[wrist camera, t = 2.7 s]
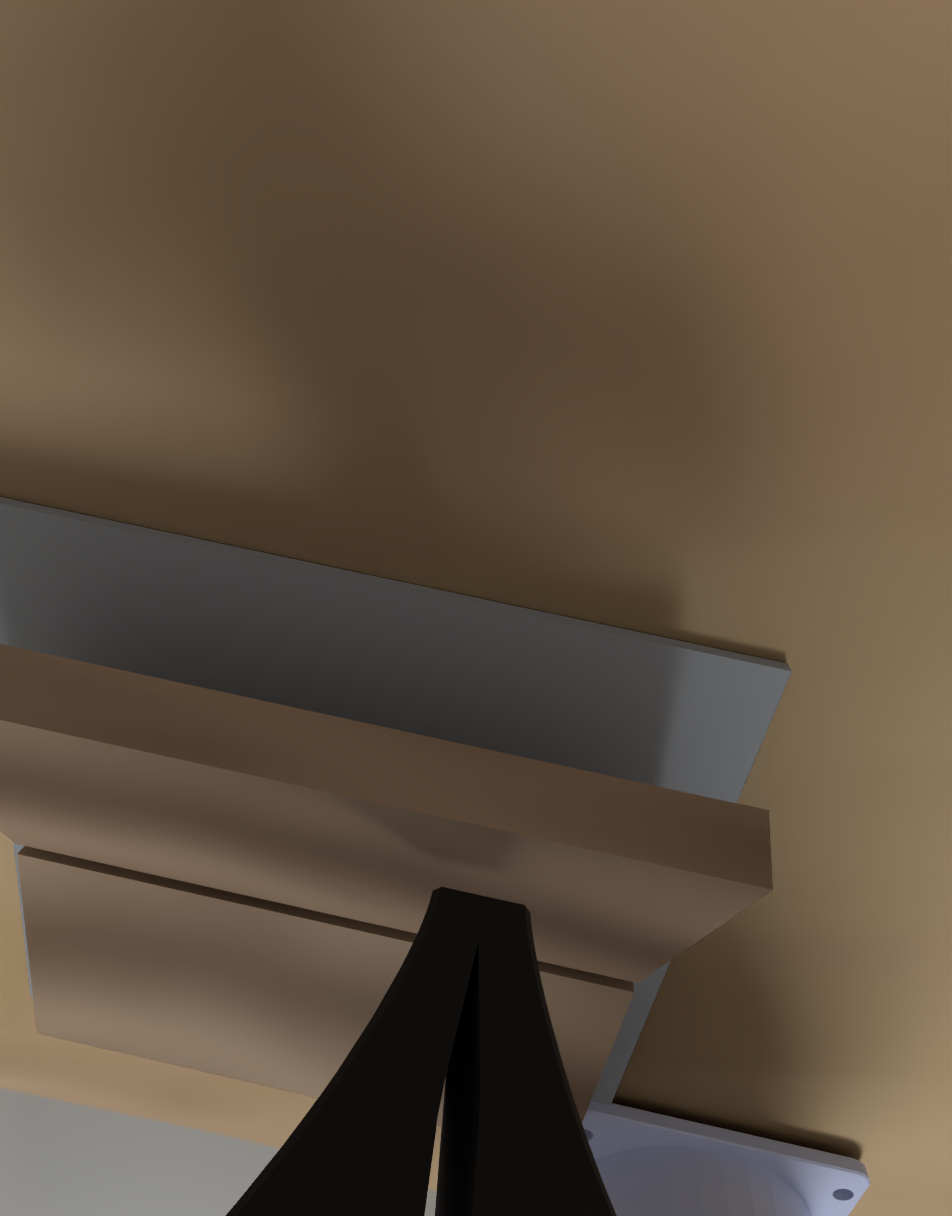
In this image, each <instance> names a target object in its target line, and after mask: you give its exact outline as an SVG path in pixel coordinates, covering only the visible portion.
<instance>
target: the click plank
mask: <svg viewBox="0 0 952 1216" xmlns="http://www.w3.org/2000/svg"><path fill="white" fill-rule="evenodd" d="M0 830H1V831H2V832H3V833H4V834H5V835H6V836H7V837H9V838H10V839H11V840H12V841H13V842H14V843H15V844H19V845H23V846H28V847H32V848H37V849H41V850H45V851H50V852H54V853H59V854H63V855H68V856H72V857H77V858H81V859H86V860H90V861H95V862H99V863H104V864H108V865H112V866H117V867H121V868H126V869H130V870H135V871H139V872H144V873H148V874H153V875H157V876H162V877H166V878H171V879H175V880H179V881H184V882H188V883H193V884H197V885H202V886H206V887H211V888H215V889H220V890H224V891H229V892H233V893H238V894H242V895H246V896H251V897H255V898H260V899H264V900H269V901H273V902H278V903H282V904H287V905H291V906H296V907H300V908H304V909H309V910H313V911H318V912H322V913H327V914H331V915H336V916H340V917H345V918H349V919H354V920H358V921H363V922H367V923H371V924H376V925H380V926H385V927H389V928H394V929H398V930H403V931H407V932H412V933H416V934H417V933H418V931H419V929H420V926H421V924H422V921H423V919H424V916H425V914H426V911H427V908H428V905H429V902H430V898H431V895H432V891H433V890H435V889H437V888H440V887H446V888H450V889H455V890H459V891H464V892H468V893H473V894H478V895H482V896H487V897H491V898H496V899H500V900H505V901H509V902H514V903H518V904H523V905H525V906H526V907H527V909H528V910H529V911H530V913H531V924H532V932H533V939H534V945H535V951H536V957H537V961H541V962H546V963H550V964H555V965H559V966H563V967H568V968H572V969H577V970H581V971H586V972H590V973H595V974H599V975H604V976H608V977H613V978H617V979H622V980H626V981H630V982H635V983H639V982H640V981H642V980H643V979H644V978H646V977H647V976H649V975H650V974H652V973H653V972H655V971H656V970H657V969H659V968H660V967H662V966H663V965H665V964H666V963H668V962H669V961H670V960H672V959H673V958H675V957H676V956H678V955H679V954H681V953H682V952H683V951H685V950H686V949H688V948H689V947H691V946H692V945H694V944H695V943H696V942H698V941H699V940H701V939H702V938H704V937H705V936H707V935H708V934H709V933H711V932H712V931H714V930H715V929H717V928H718V927H720V926H721V925H722V924H724V923H725V922H727V921H728V920H730V919H731V918H733V917H734V916H735V915H737V914H738V913H740V912H741V911H743V910H744V909H746V908H747V907H748V906H750V905H751V904H753V903H754V902H756V901H757V900H759V899H760V898H761V897H763V896H764V895H766V894H767V893H769V892H770V891H772V890H773V885H772V865H771V846H770V827H769V810H765V809H760V808H755V807H751V806H746V805H742V804H737V803H732V802H728V801H723V800H719V799H714V798H709V797H705V796H700V795H696V794H691V793H686V792H682V791H677V790H672V789H668V788H663V787H659V786H654V785H649V784H645V783H640V782H636V781H631V780H626V779H622V778H617V777H613V776H608V775H603V774H599V773H594V772H589V771H585V770H580V769H576V768H571V767H566V766H562V765H557V764H553V763H548V762H543V761H539V760H534V759H530V758H525V757H520V756H516V755H511V754H507V753H502V752H497V751H493V750H488V749H483V748H479V747H474V746H470V745H465V744H460V743H456V742H451V741H447V740H442V739H437V738H433V737H428V736H424V735H419V734H414V733H410V732H405V731H400V730H396V729H391V728H387V727H382V726H377V725H373V724H368V723H364V722H359V721H354V720H350V719H345V718H341V717H336V716H331V715H327V714H322V713H318V712H313V711H308V710H304V709H299V708H294V707H290V706H285V705H281V704H276V703H271V702H267V701H262V700H258V699H253V698H248V697H244V696H239V695H235V694H230V693H225V692H221V691H216V690H211V689H207V688H202V687H198V686H193V685H188V684H184V683H179V682H175V681H170V680H165V679H161V678H156V677H152V676H147V675H142V674H138V673H133V672H129V671H124V670H119V669H115V668H110V667H105V666H101V665H96V664H92V663H87V662H82V661H78V660H73V659H69V658H64V657H59V656H55V655H50V654H46V653H41V652H36V651H32V650H27V649H23V648H18V647H13V646H9V645H4V644H0Z"/></svg>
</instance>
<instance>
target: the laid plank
mask: <svg viewBox="0 0 952 1216" xmlns="http://www.w3.org/2000/svg"><path fill="white" fill-rule="evenodd" d="M17 859H18V868H19V877H20V886H21V895H22V904H23V913H24V921H25V930H26V939H27V948H28V957H29V966H30V975H31V984H32V993H33V1002H34V1011H35V1020H36V1029H37V1033H38V1034H42V1035H46V1036H51V1037H55V1038H59V1039H64V1040H68V1041H72V1042H77V1043H81V1044H85V1045H90V1046H94V1047H98V1048H103V1049H107V1050H112V1051H116V1052H120V1053H125V1054H129V1055H133V1056H138V1057H142V1058H146V1059H151V1060H155V1061H159V1062H164V1063H168V1064H172V1065H177V1066H181V1067H185V1068H190V1069H194V1070H198V1071H203V1072H207V1073H211V1074H216V1075H220V1076H224V1077H229V1078H233V1079H237V1080H242V1081H246V1082H250V1083H255V1084H259V1085H263V1086H268V1087H272V1088H276V1089H281V1090H285V1091H289V1092H294V1093H298V1094H302V1095H307V1096H311V1097H315V1098H319V1096H320V1095H321V1094H322V1092H323V1091H324V1089H325V1088H326V1086H327V1085H328V1084H329V1082H330V1081H331V1079H332V1078H333V1076H334V1075H335V1074H336V1072H337V1071H338V1069H339V1068H340V1066H341V1064H342V1063H343V1061H344V1060H345V1058H346V1057H347V1055H348V1054H349V1052H350V1051H351V1049H352V1048H353V1046H354V1045H355V1043H356V1042H357V1040H358V1038H359V1037H360V1035H361V1034H362V1032H363V1031H364V1029H365V1028H366V1026H367V1025H368V1023H369V1021H370V1020H371V1018H372V1017H373V1015H374V1013H375V1012H376V1010H377V1008H378V1006H379V1005H380V1003H381V1001H382V999H383V998H384V996H385V994H386V992H387V991H388V989H389V987H390V985H391V984H392V982H393V980H394V978H395V977H396V975H397V973H398V971H399V969H400V968H401V966H402V964H403V962H404V960H405V958H406V956H407V954H408V952H409V950H410V948H411V946H412V944H413V942H414V940H415V937H416V935H417V934H416V933H412V932H407V931H403V930H398V929H394V928H389V927H385V926H380V925H376V924H371V923H367V922H363V921H358V920H354V919H349V918H345V917H340V916H336V915H331V914H327V913H322V912H318V911H313V910H309V909H304V908H300V907H296V906H291V905H287V904H282V903H278V902H273V901H269V900H264V899H260V898H255V897H251V896H246V895H242V894H238V893H233V892H229V891H224V890H220V889H215V888H211V887H206V886H202V885H197V884H193V883H188V882H184V881H179V880H175V879H171V878H166V877H162V876H157V875H153V874H148V873H144V872H139V871H135V870H130V869H126V868H121V867H117V866H112V865H108V864H104V863H99V862H95V861H90V860H86V859H81V858H77V857H72V856H68V855H63V854H59V853H54V852H50V851H45V850H41V849H37V848H32V847H28V846H24V847H23V848H22V849H21V850H20V851H19V852H18V853H17ZM537 962H538V967H539V972H540V977H541V981H542V986H543V990H544V995H545V999H546V1003H547V1007H548V1011H549V1015H550V1019H551V1023H552V1026H553V1030H554V1034H555V1037H556V1041H557V1044H558V1048H559V1051H560V1055H561V1059H562V1062H563V1066H564V1069H565V1072H566V1076H567V1079H568V1082H569V1085H570V1088H571V1092H572V1095H573V1098H574V1101H575V1104H576V1107H577V1110H578V1113H579V1116H580V1119H581V1122H583V1120H584V1117H585V1115H586V1112H587V1110H588V1107H589V1104H590V1102H591V1099H592V1097H593V1094H594V1092H595V1089H596V1087H597V1084H598V1082H599V1079H600V1077H601V1074H602V1072H603V1069H604V1067H605V1064H606V1062H607V1059H608V1057H609V1054H610V1052H611V1049H612V1047H613V1044H614V1042H615V1039H616V1037H617V1034H618V1032H619V1029H620V1027H621V1024H622V1022H623V1019H624V1017H625V1014H626V1011H627V1009H628V1006H629V1004H630V1001H631V999H632V996H633V994H634V986H633V982H630V981H626V980H622V979H617V978H613V977H608V976H604V975H599V974H595V973H590V972H586V971H581V970H577V969H572V968H568V967H563V966H559V965H555V964H550V963H546V962H541V961H537ZM445 1079H446V1078H445ZM444 1092H445V1082H444V1087H443V1092H442V1097H441V1103H440V1108H439V1113H438V1118H437V1126H441V1127H442V1117H443V1104H444Z"/></svg>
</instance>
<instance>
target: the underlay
mask: <svg viewBox="0 0 952 1216" xmlns="http://www.w3.org/2000/svg"><path fill="white" fill-rule="evenodd" d="M0 644H4V645H9V646H13V647H18V648H23V649H27V650H32V651H36V652H41V653H46V654H50V655H55V656H59V657H64V658H69V659H73V660H78V661H82V662H87V663H92V664H96V665H101V666H105V667H110V668H115V669H119V670H124V671H129V672H133V673H138V674H142V675H147V676H152V677H156V678H161V679H165V680H170V681H175V682H179V683H184V684H188V685H193V686H198V687H202V688H207V689H211V690H216V691H221V692H225V693H230V694H235V695H239V696H244V697H248V698H253V699H258V700H262V701H267V702H271V703H276V704H281V705H285V706H290V707H294V708H299V709H304V710H308V711H313V712H318V713H322V714H327V715H331V716H336V717H341V718H345V719H350V720H354V721H359V722H364V723H368V724H373V725H377V726H382V727H387V728H391V729H396V730H400V731H405V732H410V733H414V734H419V735H424V736H428V737H433V738H437V739H442V740H447V741H451V742H456V743H460V744H465V745H470V746H474V747H479V748H483V749H488V750H493V751H497V752H502V753H507V754H511V755H516V756H520V757H525V758H530V759H534V760H539V761H543V762H548V763H553V764H557V765H562V766H566V767H571V768H576V769H580V770H585V771H589V772H594V773H599V774H603V775H608V776H613V777H617V778H622V779H626V780H631V781H636V782H640V783H645V784H649V785H654V786H659V787H663V788H668V789H672V790H677V791H682V792H686V793H691V794H696V795H700V796H705V797H709V798H714V799H719V800H723V801H728V802H732V803H737V801H738V799H739V796H740V794H741V792H742V789H743V787H744V784H745V782H746V780H747V777H748V775H749V772H750V770H751V768H752V765H753V763H754V761H755V758H756V756H757V753H758V751H759V749H760V746H761V744H762V741H763V739H764V737H765V734H766V732H767V729H768V727H769V725H770V722H771V720H772V717H773V715H774V713H775V710H776V708H777V705H778V703H779V701H780V698H781V696H782V694H783V691H784V689H785V686H786V684H787V682H788V679H789V677H790V674H791V672H792V671H791V669H790V667H789V665H788V664H787V663H783V662H778V661H773V660H768V659H764V658H759V657H754V656H749V655H745V654H740V653H735V652H731V651H726V650H721V649H716V648H712V647H707V646H702V645H698V644H693V643H688V642H683V641H679V640H674V639H669V638H664V637H660V636H655V635H650V634H646V633H641V632H636V631H631V630H627V629H622V628H617V627H612V626H608V625H603V624H598V623H594V622H589V621H584V620H579V619H575V618H570V617H565V616H561V615H556V614H551V613H546V612H542V611H537V610H532V609H527V608H523V607H518V606H513V605H509V604H504V603H499V602H494V601H490V600H485V599H480V598H476V597H471V596H466V595H461V594H457V593H452V592H447V591H442V590H438V589H433V588H428V587H424V586H419V585H414V584H409V583H405V582H400V581H395V580H390V579H386V578H381V577H376V576H372V575H367V574H362V573H357V572H353V571H348V570H343V569H339V568H334V567H329V566H324V565H320V564H315V563H310V562H305V561H301V560H296V559H291V558H287V557H282V556H277V555H272V554H268V553H263V552H258V551H254V550H249V549H244V548H239V547H235V546H230V545H225V544H220V543H216V542H211V541H206V540H202V539H197V538H192V537H187V536H183V535H178V534H173V533H168V532H164V531H159V530H154V529H150V528H145V527H140V526H135V525H131V524H126V523H121V522H117V521H112V520H107V519H102V518H98V517H93V516H88V515H83V514H79V513H74V512H69V511H65V510H60V509H55V508H50V507H46V506H41V505H36V504H32V503H27V502H22V501H17V500H13V499H8V498H3V497H0ZM23 847H24V846H23V845H19V844H15V843H14V851H15V860H16V869H17V878H18V886H19V895H20V904H21V913H22V922H23V931H24V939H25V948H26V957H27V966H28V975H29V984H30V992H31V997H33V993H32V984H31V975H30V966H29V957H28V948H27V939H26V930H25V921H24V913H23V904H22V895H21V886H20V877H19V868H18V859H17V853H18V852H19V851H20V850H21V849H22V848H23ZM670 962H671V960H670V961H669V962H668V963H666V964H665V965H663V966H662V967H660V968H659V969H657V970H656V971H655V972H653V973H652V974H650V975H649V976H647V977H646V978H644V979H643V980H642V981H640V982H639V983H635V982H633V986H634V994H633V996H632V999H631V1001H630V1004H629V1006H628V1009H627V1011H626V1014H625V1017H624V1019H623V1022H622V1024H621V1027H620V1029H619V1032H618V1034H617V1037H616V1039H615V1042H614V1044H613V1047H612V1049H611V1052H610V1054H609V1057H608V1059H607V1062H606V1064H605V1067H604V1069H603V1072H602V1074H601V1077H600V1079H599V1082H598V1084H597V1087H596V1089H595V1092H594V1094H593V1097H592V1099H591V1101H594V1102H599V1103H603V1104H607V1105H611V1103H612V1100H613V1098H614V1096H615V1093H616V1091H617V1088H618V1086H619V1084H620V1081H621V1079H622V1076H623V1074H624V1072H625V1069H626V1067H627V1064H628V1062H629V1060H630V1057H631V1055H632V1052H633V1050H634V1048H635V1045H636V1043H637V1041H638V1038H639V1036H640V1033H641V1031H642V1029H643V1026H644V1024H645V1021H646V1019H647V1017H648V1014H649V1012H650V1009H651V1007H652V1005H653V1002H654V1000H655V997H656V995H657V993H658V990H659V988H660V985H661V983H662V981H663V978H664V976H665V974H666V971H667V969H668V966H669V964H670Z"/></svg>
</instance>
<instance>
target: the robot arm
mask: <svg viewBox="0 0 952 1216" xmlns="http://www.w3.org/2000/svg"><path fill="white" fill-rule="evenodd" d="M445 1078H446V1079H445ZM444 1082H445V1092H444V1104H443V1117H442V1130H441V1143H440V1156H439V1170H438V1183H437V1196H436V1209H435V1216H848V1215H849V1213H850V1212H851V1210H852V1209H853V1208H854V1206H855V1205H856V1203H857V1202H858V1201H859V1199H860V1198H861V1196H862V1195H863V1194H864V1192H865V1191H866V1189H867V1188H868V1187H869V1184H870V1180H869V1177H868V1174H867V1171H866V1168H865V1165H864V1164H863V1163H861V1162H860V1161H859V1160H856V1159H854V1158H851V1157H846V1156H842V1155H837V1154H833V1153H829V1152H824V1151H820V1150H816V1149H811V1148H807V1147H802V1146H798V1145H794V1144H789V1143H785V1142H781V1141H776V1140H772V1139H767V1138H763V1137H759V1136H754V1135H750V1134H745V1133H741V1132H737V1131H732V1130H728V1129H724V1128H719V1127H715V1126H710V1125H706V1124H702V1123H697V1122H693V1121H689V1120H684V1119H680V1118H675V1117H671V1116H667V1115H662V1114H658V1113H653V1112H649V1111H645V1110H640V1109H636V1108H632V1107H627V1106H623V1105H618V1104H614V1103H611V1105H607V1104H603V1103H599V1102H594V1101H591V1102H590V1104H589V1107H588V1110H587V1112H586V1115H585V1117H584V1120H583V1122H581V1119H580V1116H579V1113H578V1110H577V1107H576V1104H575V1101H574V1098H573V1095H572V1092H571V1088H570V1085H569V1082H568V1079H567V1076H566V1072H565V1069H564V1066H563V1062H562V1059H561V1055H560V1051H559V1048H558V1044H557V1041H556V1037H555V1034H554V1030H553V1026H552V1023H551V1019H550V1015H549V1011H548V1007H547V1003H546V999H545V995H544V990H543V986H542V981H541V977H540V972H539V967H538V962H537V957H536V951H535V945H534V939H533V932H532V924H531V913H530V911H529V910H528V909H527V907H526V906H525V905H523V904H518V903H514V902H509V901H505V900H500V899H496V898H491V897H487V896H482V895H478V894H473V893H468V892H464V891H459V890H455V889H450V888H446V887H440V888H437V889H435V890H433V891H432V895H431V898H430V902H429V905H428V908H427V911H426V914H425V916H424V919H423V921H422V924H421V926H420V929H419V931H418V933H417V935H416V937H415V940H414V942H413V944H412V946H411V948H410V950H409V952H408V954H407V956H406V958H405V960H404V962H403V964H402V966H401V968H400V969H399V971H398V973H397V975H396V977H395V978H394V980H393V982H392V984H391V985H390V987H389V989H388V991H387V992H386V994H385V996H384V998H383V999H382V1001H381V1003H380V1005H379V1006H378V1008H377V1010H376V1012H375V1013H374V1015H373V1017H372V1018H371V1020H370V1021H369V1023H368V1025H367V1026H366V1028H365V1029H364V1031H363V1032H362V1034H361V1035H360V1037H359V1038H358V1040H357V1042H356V1043H355V1045H354V1046H353V1048H352V1049H351V1051H350V1052H349V1054H348V1055H347V1057H346V1058H345V1060H344V1061H343V1063H342V1064H341V1066H340V1068H339V1069H338V1071H337V1072H336V1074H335V1075H334V1076H333V1078H332V1079H331V1081H330V1082H329V1084H328V1085H327V1086H326V1088H325V1089H324V1091H323V1092H322V1094H321V1095H320V1096H319V1098H318V1099H317V1101H316V1102H315V1103H314V1105H313V1106H312V1107H311V1109H310V1110H309V1112H308V1113H307V1114H306V1116H305V1117H304V1118H303V1120H302V1121H301V1122H300V1124H299V1125H298V1126H297V1128H296V1129H295V1130H294V1131H293V1133H292V1134H291V1135H290V1137H289V1138H288V1139H287V1141H286V1142H285V1143H284V1145H283V1146H282V1147H281V1149H280V1150H279V1151H278V1152H277V1154H276V1155H275V1156H274V1157H273V1159H272V1160H271V1161H270V1162H269V1163H268V1165H267V1166H266V1167H265V1168H264V1170H263V1171H262V1172H261V1174H260V1175H259V1176H258V1177H257V1178H256V1180H255V1181H254V1182H253V1183H252V1185H251V1186H250V1187H249V1188H248V1190H247V1191H246V1192H245V1193H244V1195H243V1196H242V1197H241V1198H240V1200H239V1201H238V1202H237V1203H236V1204H235V1205H234V1206H233V1208H232V1209H231V1210H230V1211H229V1212H228V1214H227V1215H226V1216H424V1213H425V1206H426V1198H427V1191H428V1184H429V1177H430V1169H431V1162H432V1155H433V1147H434V1140H435V1133H436V1126H437V1118H438V1113H439V1108H440V1103H441V1097H442V1092H443V1087H444Z"/></svg>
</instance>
